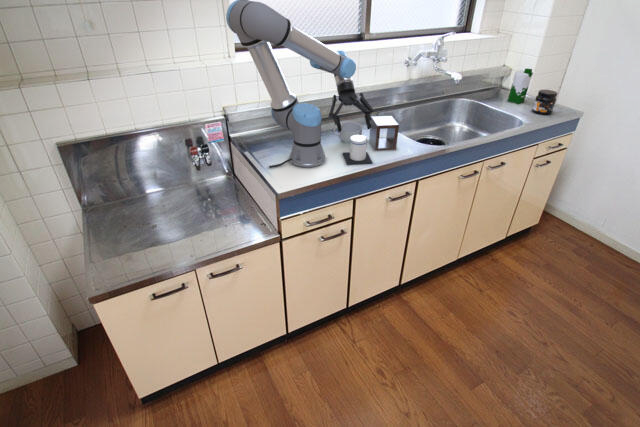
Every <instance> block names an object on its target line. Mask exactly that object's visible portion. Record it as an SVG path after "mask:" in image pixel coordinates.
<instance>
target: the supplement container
mask: <svg viewBox="0 0 640 427" xmlns="http://www.w3.org/2000/svg"><path fill="white" fill-rule="evenodd" d="M535 96H536V97H535V100H534V102H533V106H532V109H531V110H532V112H533V113H534V114H536V115H540V116H549V115H551V114H552V113H553V110H554V108H555V104H556V101H557V96H558V91H555V90H553V89H552V90H551V89H540V90H538V93H537V95H535Z"/></svg>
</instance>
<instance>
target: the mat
mask: <svg viewBox="0 0 640 427" xmlns="http://www.w3.org/2000/svg"><path fill="white" fill-rule="evenodd" d="M342 155H343V159H344V161H345V163H346V165H347V166H354V165H357V166H358V165H372V164H373V161H372V159H371V157H370V155H369V153H368V151H366V158H365V159H364V160H361V161H356V160H352V159H350V151H349V152H342Z"/></svg>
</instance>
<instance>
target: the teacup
mask: <svg viewBox="0 0 640 427" xmlns="http://www.w3.org/2000/svg"><path fill="white" fill-rule="evenodd" d="M340 124H341V128H342V130H341V132H339V133H337V132H336V130H338V128H337V125H335V126H334V127H333V128H332V133H333V135H335V137H338V139H340V140H341V141H342V142H343V143H345V144H348V145H350V138H351V136H353V135H362V132H363V125H362V124H361V123H358V122H356V121H344V122H341V123H340Z"/></svg>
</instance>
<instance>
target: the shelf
mask: <svg viewBox="0 0 640 427" xmlns="http://www.w3.org/2000/svg"><path fill="white" fill-rule="evenodd" d="M370 123H371V128H370V129H369V137H368V138H369V139H368V141H369V143H370V144H371V146H372V148H373V150H374V151H375V152H376V151H396V150H397V144H398V136H399V128H400V124H399V123H398V122H397V121H396V119H395V118H394V116H392V115H379V116H376V115H375V116H371V121H370ZM384 129H385V130H386V137H380V136H381V130H384Z"/></svg>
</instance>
